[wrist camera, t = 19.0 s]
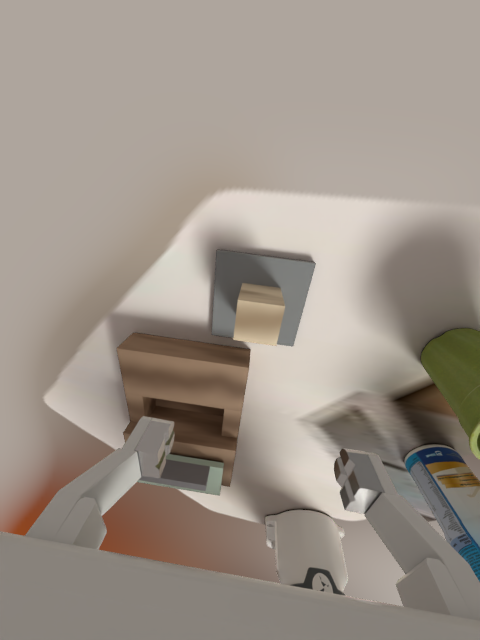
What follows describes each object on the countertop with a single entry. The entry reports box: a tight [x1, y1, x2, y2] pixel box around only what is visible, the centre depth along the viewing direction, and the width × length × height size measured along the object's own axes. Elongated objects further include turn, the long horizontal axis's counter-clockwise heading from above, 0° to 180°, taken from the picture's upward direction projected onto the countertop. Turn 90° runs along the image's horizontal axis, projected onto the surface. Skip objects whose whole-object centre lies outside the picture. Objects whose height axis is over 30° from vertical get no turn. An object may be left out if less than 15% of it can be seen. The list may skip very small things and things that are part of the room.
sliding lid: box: [137, 454, 224, 496], centre depth 33 cm, size 8×14×3 cm, turn 84°
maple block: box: [233, 283, 285, 346], centre depth 23 cm, size 4×4×6 cm
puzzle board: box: [117, 333, 250, 487], centre depth 33 cm, size 24×17×6 cm
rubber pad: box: [212, 249, 316, 346], centre depth 26 cm, size 11×11×1 cm
